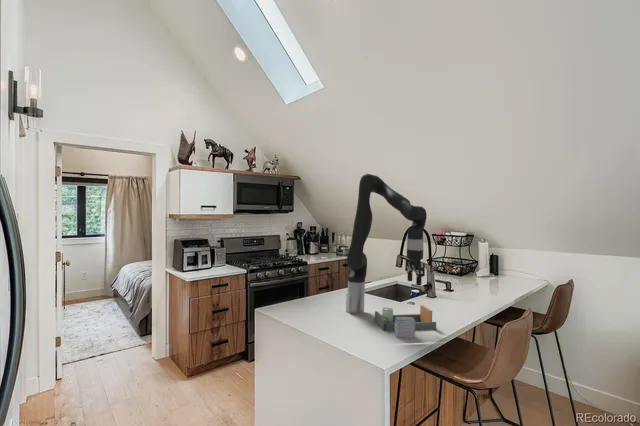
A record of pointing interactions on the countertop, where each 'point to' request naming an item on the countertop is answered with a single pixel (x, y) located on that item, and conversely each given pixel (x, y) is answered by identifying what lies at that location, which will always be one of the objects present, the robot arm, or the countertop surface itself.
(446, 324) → the countertop surface
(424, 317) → the pusher paddle
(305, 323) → the countertop surface
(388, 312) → the sage jar
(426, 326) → the pusher lane
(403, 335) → the medicine box
